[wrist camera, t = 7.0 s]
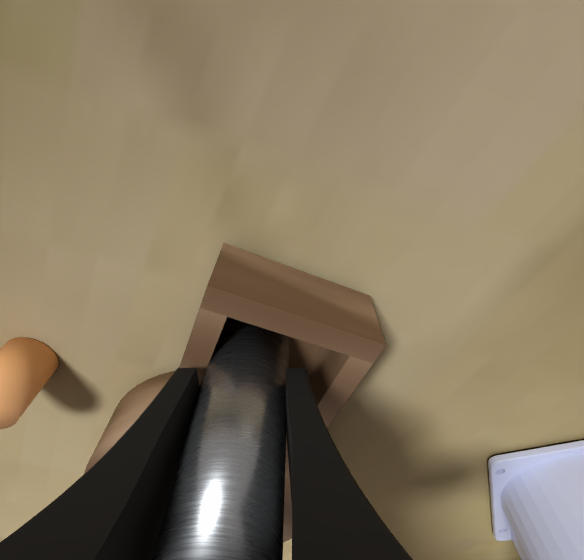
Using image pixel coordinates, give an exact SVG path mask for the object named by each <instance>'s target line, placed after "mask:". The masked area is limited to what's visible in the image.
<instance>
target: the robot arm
mask: <svg viewBox="0 0 584 560" xmlns="http://www.w3.org/2000/svg"><path fill="white" fill-rule="evenodd" d="M199 392H200V385H199V380H198V374H197V369H196V368H178V369H177V370H176V371H175V372H174V373H173V375H172V376H171V377H170V379H169V380H168V381H167V383H166V384H165V385H164V387H163V388H162V389H161V391H160V392H159V393H158V394H157V396H156V397H155V398H154V399H153V401H152V402H151V403H150V404H149V406H148V407H147V408H146V409H145V410H144V412H143V413H142V414H141V415H140V416H139V418H138V419H137V420H136V421H135V422H134V424H133V425H132V426H131V427H130V428H129V429H128V430H127V431H126V432H125V433H124V435H123V436H122V437H121V438H120V439H119V440H118V441H117V442H116V443H115V444H114V446H113V447H112V448H111V449H110V450H109V451H108V452H107V453H106V454H105V455H104V456H103V457H102V458H101V459H100V460H99V461H98V462H97V463H96V464H95V465H94V466H92V467H91V468H90V469H89V470H88V471H87V472H86V473H85V474H84V475H83V476H82V477H81V478H80V479H78V480H77V481H76V482H75V483H74V484H73V485H72V486H71V487H69V488H68V489H67V490H66V491H65V492H64V493H63V494H61V495H60V496H59V497H58V498H57V499H56V500H54V501H53V502H52V503H51V504H49V505H48V506H47V507H46V508H44V509H43V510H42V511H41V512H39V513H38V514H37V515H36V516H34V517H33V518H32V519H30V520H29V521H28V522H27V523H25V524H24V525H23V526H22V527H20V528H19V529H18V530H16V531H15V532H14V533H12V534H11V535H10V536H8V537H7V538H6V539H4V540H3V541H1V542H0V560H151V558H152V554H153V551H154V547H155V544H156V541H157V537H158V534H159V530H160V527H161V523H162V520H163V516H164V513H165V509H166V506H167V502H168V499H169V496H170V492H171V489H172V485H173V482H174V478H175V475H176V471H177V468H178V464H179V461H180V458H181V454H182V451H183V447H184V444H185V440H186V437H187V433H188V430H189V426H190V423H191V420H192V416H193V413H194V409H195V406H196V402H197V399H198V395H199ZM286 417H287V450H288V463H289V476H290V489H291V502H292V560H413V559H412V558H411V557H410V556H409V555H408V553H407V552H406V551H405V550H404V548H403V547H402V546H401V545H400V543H399V542H398V541H397V540H396V538H395V537H394V536H393V534H392V533H391V532H390V530H389V529H388V528H387V526H386V525H385V524H384V522H383V521H382V520H381V518H380V517H379V515H378V514H377V513H376V511H375V510H374V508H373V507H372V505H371V504H370V502H369V501H368V499H367V498H366V497H365V495H364V494H363V492H362V491H361V489H360V488H359V486H358V484H357V483H356V481H355V480H354V478H353V476H352V475H351V473H350V471H349V470H348V468H347V466H346V464H345V463H344V461H343V459H342V457H341V455H340V454H339V452H338V450H337V448H336V446H335V444H334V442H333V440H332V438H331V436H330V434H329V432H328V430H327V427H326V425H325V423H324V421H323V418H322V416H321V413H320V411H319V409H318V406H317V403H316V401H315V398H314V395H313V392H312V389H311V385H310V381H309V377H308V371H307V370H306V369H305V368H286ZM488 468H489V482H490V496H491V510H492V525H493V534H494V537H495V539H496V540H498V541H507V540H512V541H513V543H514V545H515V547H516V549H517V552H518V554H519V556H520V558H521V560H584V440H582V441H576V442H570V443H564V444H559V445H553V446H547V447H542V448H536V449H530V450H524V451H519V452H513V453H507V454H502V455H496V456H493V457H491V458H490V459H489V461H488Z"/></svg>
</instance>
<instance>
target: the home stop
mask: <svg viewBox="0 0 584 560" xmlns="http://www.w3.org/2000/svg"><path fill="white" fill-rule="evenodd" d="M57 367H58V358H57V356H56V354H55V353H54V352H53V351H52V350H51V349H50V348H49V347H48V346H47V345H45V344H43V343H42V342H40V341H37V340H34V339H31V338H24V337H20V338H14V339H11V340H9V341H8V342H7V343H6V344H5V345H4V346H3V347H2V348H1V349H0V429H4V428H8V427H11V426H12V425H14V424H15V423H16V422H17V420H18V419H19V418H20V416H21V415H22V414H23V412H24V411H25V410H26V409H27V407H28V406H29V405H30V403H31V402H32V401H33V399H34V398H35V397H36V395H37V394H38V393H39V392H40V390H41V389H42V388H43V386H44V385H45V384H46V382H47V381H48V380H49V378H50V377H51V376H52V375H53V373H54V372H55V371H56V369H57Z"/></svg>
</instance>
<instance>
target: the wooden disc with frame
mask: <svg viewBox="0 0 584 560" xmlns="http://www.w3.org/2000/svg"><path fill="white" fill-rule="evenodd" d="M230 318H233V319H236V320H239V321H242V322H245V323H248V324H252V325H255V326H258V327H261V328H264V329H267V330H270V331H273V332H277V333H280V334H283V335H286V336H288V338H289V368H305V369H306V370H307V371H308V377H309V381H310V385H311V389H312V392H313V395H314V398H315V401H316V403H317V406H318V409H319V411H320V413H321V416H322V418H323V421H324V423H325V425H326V427H327V428H328V426H329V425H330V423H331V422H332V421H333V419H334V418H335V416H336V415H337V414H338V412H339V411H340V409H341V408H342V407H343V405H344V404H345V402H346V401H347V400H348V398H349V397H350V395H351V394H352V393H353V391H354V390H355V388H356V387H357V386H358V384H359V383H360V381H361V380H362V379H363V377H364V376H365V374H366V373H367V372H368V370H369V369H370V367H371V366H372V365H373V363H374V362H375V360H376V359H377V357H378V356H379V355H380V353H381V352H382V350H383V349H384V348H385V346H386V343H385V340H384V337H383V334H382V331H381V328H380V325H379V321H378V318H377V315H376V312H375V309H374V306H373V303H372V300H371V297H370V296H369V295H366V294H364V293H361V292H358V291H355V290H352V289H350V288H347V287H344V286H341V285H339V284H336V283H333V282H330V281H327V280H325V279H322V278H319V277H316V276H314V275H311V274H308V273H305V272H303V271H300V270H297V269H294V268H291V267H289V266H286V265H283V264H280V263H278V262H275V261H272V260H269V259H266V258H264V257H261V256H258V255H255V254H253V253H250V252H247V251H244V250H241V249H239V248H236V247H233V246H230V245H228V244H225V243H223V246H222V249H221V251H220V254H219V257H218V259H217V262H216V265H215V267H214V270H213V272H212V275H211V278H210V280H209V283H208V286H207V289H206V291H205V294H204V297H203V300H202V303H201V306H200V309H199V312H198V315H197V318H196V321H195V323H194V326H193V329H192V332H191V335H190V338H189V341H188V344H187V347H186V350H185V353H184V355H183V358H182V361H181V364H180V367H179V368H196V369H197V374H198V380H199V385H200V388H201V385H202V381H203V378H204V375H205V371H206V368H207V366H208V364H209V361H210V359H211V356H212V354H213V351H214V349H215V346H216V344H217V341H218V339H219V336H220V334H221V331H222V329H223V326H224V324H225V321H227V320H228V319H230ZM174 372H175V371H173V372H169V373H165V374H161V375H158V376H156V377H153V378H151V379H148V380H146V381H144V382H143V383H141V384H139V385H137V386H136V387H135V388H133V389H132V390H131V391H129V392H128V393H127V394H126V395H125V396H124V397H123V399H122V400H121V401H120V403H119V404H118V406H117V407H116V409H115V411H114V413H113V415H112V417H111V419H110V421H109V423H108V425H107V427H106V429H105V431H104V433H103V435H102V437H101V439H100V441H99V443H98V445H97V447H96V449H95V451H94V452H93V454H92V456H91V458H90V460H89V462H88V464H87V467H86V470H85V473H86V472H87V471H88V470H89V469H90V468H91V467H92V466H94V465H95V464H96V463H97V462H98V461H99V460H100V459H101V458H102V457H103V456H104V455H105V454H106V453H107V452H108V451H109V450H110V449H111V448H112V447H113V446H114V444H115V443H116V442H117V441H118V440H119V439H120V438H121V437H122V436H123V435H124V433H125V432H126V431H127V430H128V429H129V428H130V427H131V426H132V425H133V424H134V422H135V421H136V420H137V419H138V418H139V416H140V415H141V414H142V413H143V412H144V410H145V409H146V408H147V407H148V406H149V404H150V403H151V402H152V401H153V399H154V398H155V397H156V396H157V394H158V393H159V392H160V391H161V389H162V388H163V387H164V385H165V384H166V383H167V381H168V380H169V379H170V377H171V376H172V375H173V373H174ZM85 473H84V474H85ZM291 538H292V502H291V489H290V476H289V463H288V450H287V432H286V463H285V494H284V525H283V542H285V541H287V540H289V539H291Z"/></svg>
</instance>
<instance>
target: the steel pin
mask: <svg viewBox="0 0 584 560" xmlns="http://www.w3.org/2000/svg"><path fill="white" fill-rule="evenodd" d="M286 368H289V338H288V336H286V335H283V334H280V333H277V332H273V331H270V330H267V329H264V328H261V327H258V326H255V325H252V324H248V323H245V322H242V321H239V320H236V319H233V318H230V319H228V320H227V321H225V324H224V326H223V329H222V331H221V334H220V336H219V339H218V341H217V344H216V346H215V349H214V351H213V354H212V356H211V359H210V361H209V364H208V366H207V368H206V371H205V375H204V378H203V381H202V385H201V388H200V392H199V395H198V399H197V402H196V406H195V409H194V413H193V416H192V420H191V423H190V426H189V430H188V433H187V437H186V440H185V444H184V447H183V451H182V454H181V458H180V461H179V464H178V468H177V471H176V475H175V478H174V482H173V485H172V489H171V492H170V496H169V499H168V502H167V506H166V509H165V513H164V516H163V520H162V523H161V527H160V530H159V534H158V537H157V541H156V544H155V547H154V551H153V554H152V558H151V560H282V556H283V525H284V494H285V463H286V432H287V417H286Z"/></svg>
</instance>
